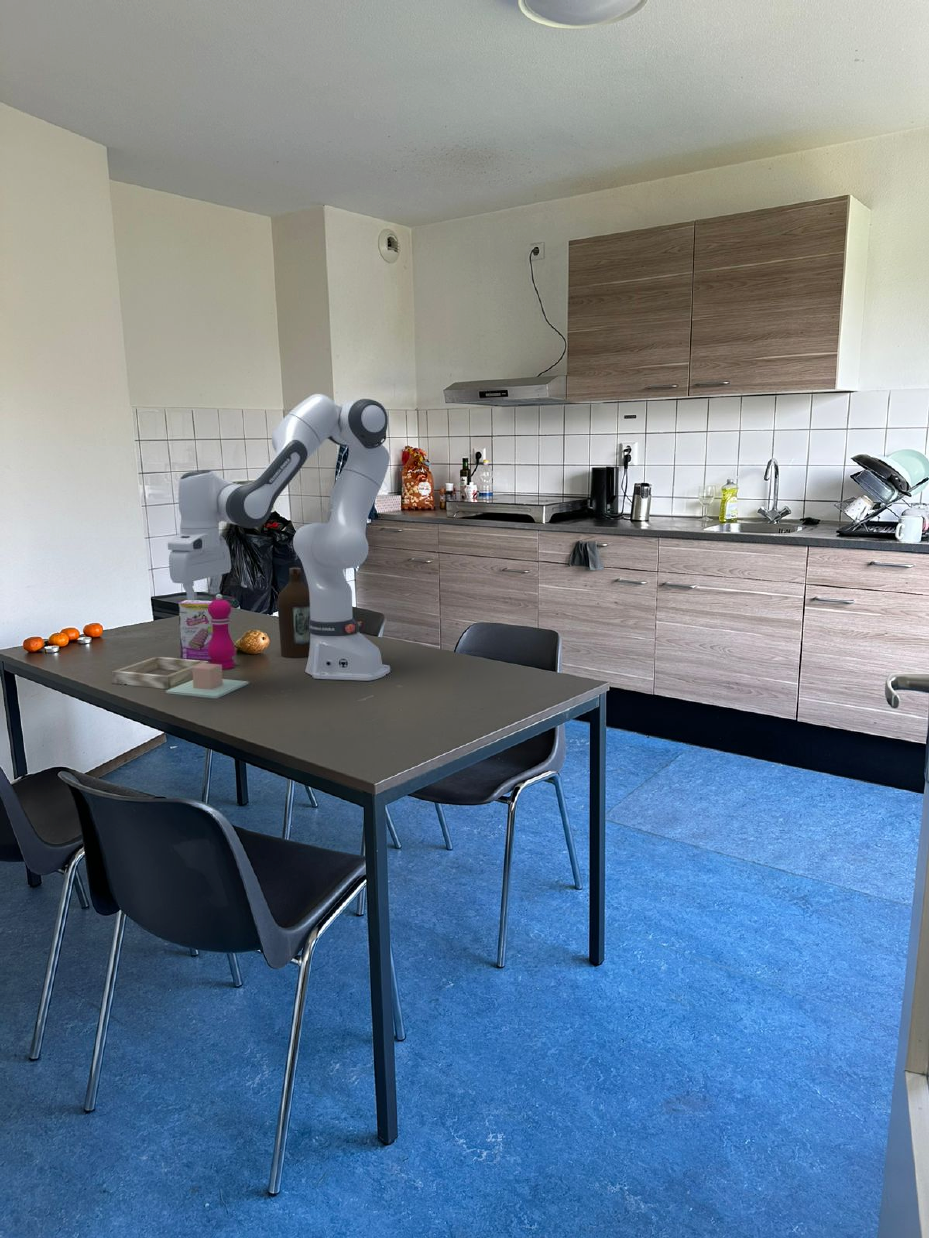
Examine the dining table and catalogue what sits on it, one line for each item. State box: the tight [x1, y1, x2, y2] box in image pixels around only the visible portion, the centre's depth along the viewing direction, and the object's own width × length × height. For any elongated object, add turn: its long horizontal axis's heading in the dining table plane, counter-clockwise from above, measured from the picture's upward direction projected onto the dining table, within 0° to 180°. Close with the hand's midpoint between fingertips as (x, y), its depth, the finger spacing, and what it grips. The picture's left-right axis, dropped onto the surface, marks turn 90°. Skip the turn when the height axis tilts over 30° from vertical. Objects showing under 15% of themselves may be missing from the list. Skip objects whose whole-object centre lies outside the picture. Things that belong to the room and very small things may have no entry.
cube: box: [192, 663, 223, 689], centre depth 212 cm, size 5×5×5 cm
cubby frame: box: [111, 656, 210, 690], centre depth 222 cm, size 16×17×3 cm
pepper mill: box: [208, 593, 236, 670], centre depth 232 cm, size 7×7×20 cm
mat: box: [165, 678, 249, 699], centre depth 213 cm, size 14×14×1 cm
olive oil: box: [276, 567, 310, 659], centre depth 247 cm, size 11×11×25 cm
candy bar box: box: [178, 599, 213, 662], centre depth 241 cm, size 11×5×16 cm, turn 84°
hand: (203, 596), depth 209 cm, fingers open, 8 cm apart
